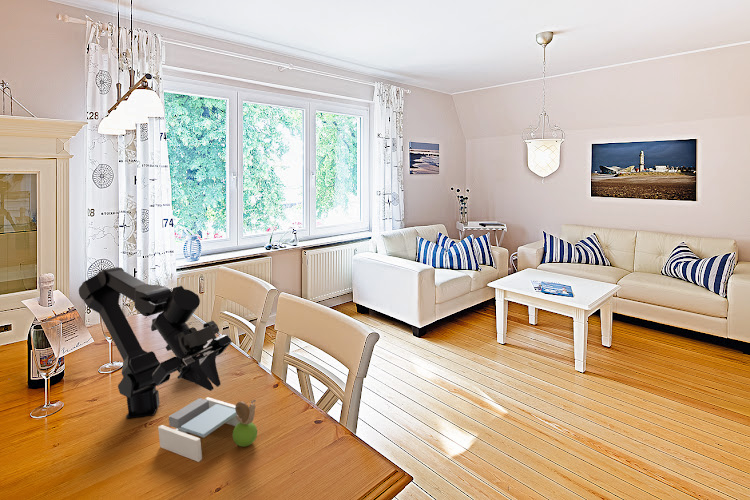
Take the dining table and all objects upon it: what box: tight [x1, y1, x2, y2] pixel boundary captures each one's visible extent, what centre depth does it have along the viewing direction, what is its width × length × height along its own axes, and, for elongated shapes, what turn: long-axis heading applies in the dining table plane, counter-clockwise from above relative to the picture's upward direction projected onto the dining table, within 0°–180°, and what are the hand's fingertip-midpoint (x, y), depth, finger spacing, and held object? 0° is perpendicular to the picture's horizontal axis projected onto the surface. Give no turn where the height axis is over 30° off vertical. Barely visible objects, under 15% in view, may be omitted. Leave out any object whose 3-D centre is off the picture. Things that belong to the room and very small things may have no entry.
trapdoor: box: [168, 397, 237, 438], centre depth 101 cm, size 11×12×2 cm
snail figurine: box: [232, 399, 258, 448], centre depth 98 cm, size 5×6×12 cm
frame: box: [157, 396, 240, 463], centre depth 102 cm, size 14×12×5 cm
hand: (215, 387), depth 97 cm, fingers closed
